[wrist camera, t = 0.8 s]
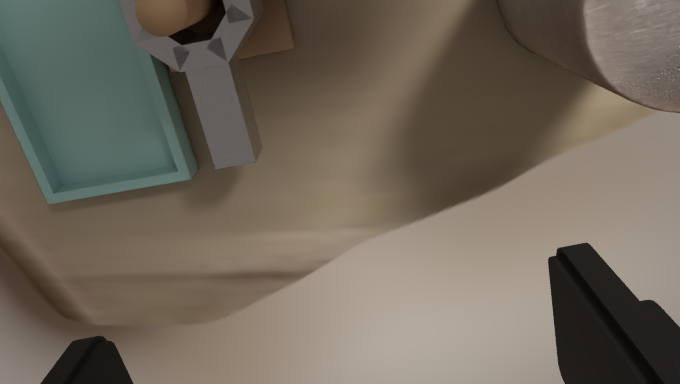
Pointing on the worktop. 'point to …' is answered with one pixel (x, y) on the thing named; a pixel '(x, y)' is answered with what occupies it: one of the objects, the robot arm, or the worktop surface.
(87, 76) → the tray
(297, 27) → the worktop surface
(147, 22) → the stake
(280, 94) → the worktop surface
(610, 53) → the pillar candle
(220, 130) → the wrench
